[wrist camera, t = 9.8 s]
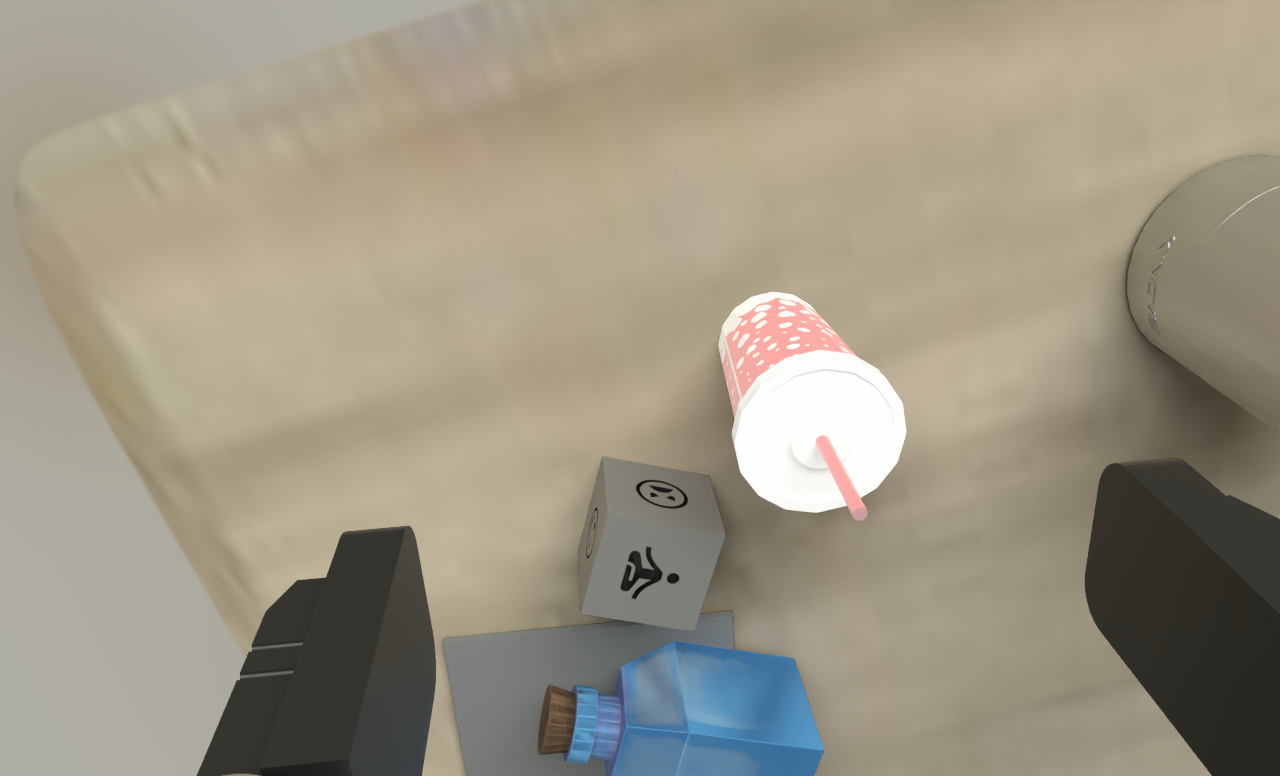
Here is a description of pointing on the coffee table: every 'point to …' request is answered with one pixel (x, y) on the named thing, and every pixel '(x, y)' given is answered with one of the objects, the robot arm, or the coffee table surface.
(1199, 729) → the robot arm
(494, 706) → the mat
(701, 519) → the dice cube
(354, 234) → the coffee table surface
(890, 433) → the beverage cup
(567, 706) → the perfume bottle
